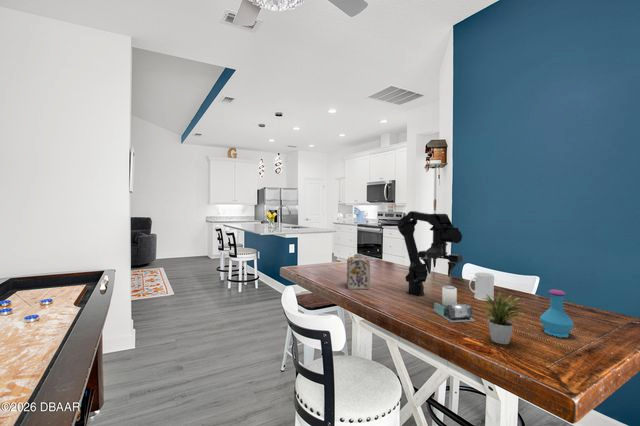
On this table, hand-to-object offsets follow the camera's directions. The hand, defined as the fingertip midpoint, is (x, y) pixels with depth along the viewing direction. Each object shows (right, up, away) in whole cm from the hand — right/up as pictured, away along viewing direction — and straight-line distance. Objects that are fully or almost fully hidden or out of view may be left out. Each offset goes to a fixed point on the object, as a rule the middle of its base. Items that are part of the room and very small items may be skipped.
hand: (438, 275), depth 136 cm
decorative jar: (-34, -13, +28) cm, 45 cm away
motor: (-1, -13, -16) cm, 21 cm away
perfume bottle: (+28, -14, -32) cm, 45 cm away
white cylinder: (-1, -13, -14) cm, 18 cm away
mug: (+24, -13, +8) cm, 28 cm away
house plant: (+4, -14, -40) cm, 42 cm away
